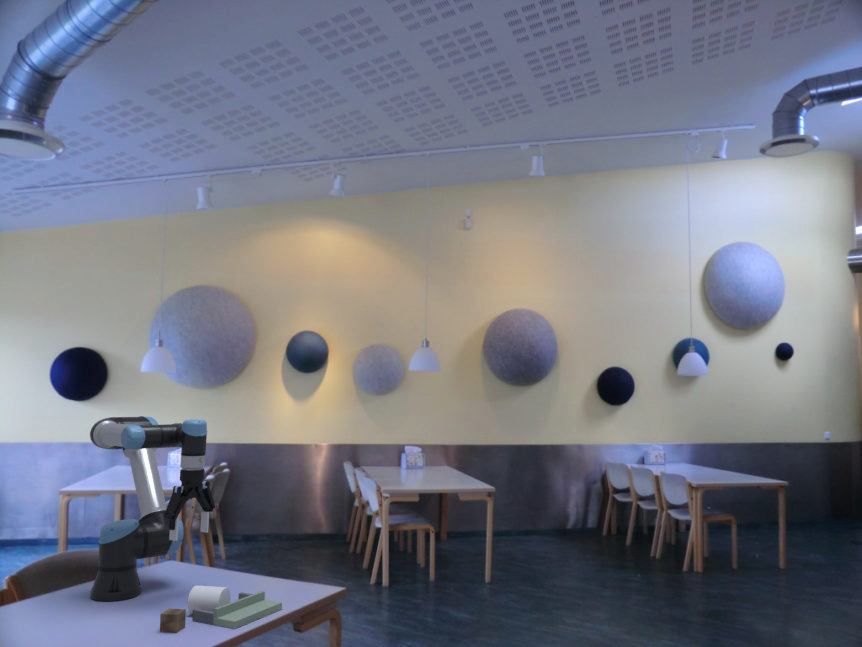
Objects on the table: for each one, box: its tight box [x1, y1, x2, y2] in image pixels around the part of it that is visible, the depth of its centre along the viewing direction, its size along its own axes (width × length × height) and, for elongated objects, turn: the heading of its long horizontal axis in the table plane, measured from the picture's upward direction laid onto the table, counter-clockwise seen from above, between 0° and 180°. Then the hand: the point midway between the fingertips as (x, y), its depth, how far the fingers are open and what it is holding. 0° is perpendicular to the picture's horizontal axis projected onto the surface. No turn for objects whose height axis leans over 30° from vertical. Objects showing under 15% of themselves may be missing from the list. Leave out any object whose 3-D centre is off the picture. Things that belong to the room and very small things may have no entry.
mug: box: [187, 585, 231, 615], centre depth 220 cm, size 12×10×8 cm
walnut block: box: [159, 608, 187, 634], centre depth 203 cm, size 5×5×5 cm
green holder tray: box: [192, 590, 283, 630], centre depth 217 cm, size 16×21×4 cm
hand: (189, 536), depth 230 cm, fingers open, 13 cm apart
